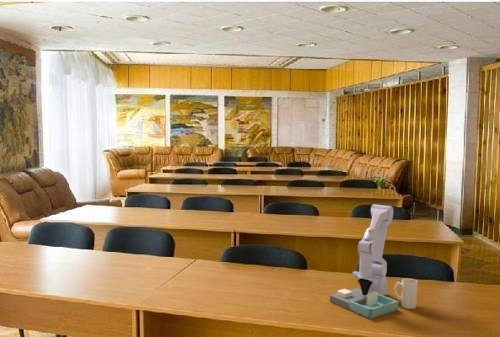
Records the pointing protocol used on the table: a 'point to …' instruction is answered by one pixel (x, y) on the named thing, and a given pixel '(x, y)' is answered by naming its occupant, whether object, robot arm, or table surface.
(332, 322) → the table surface
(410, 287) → the mug
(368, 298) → the tile
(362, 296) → the grey flat slab
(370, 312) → the tray
